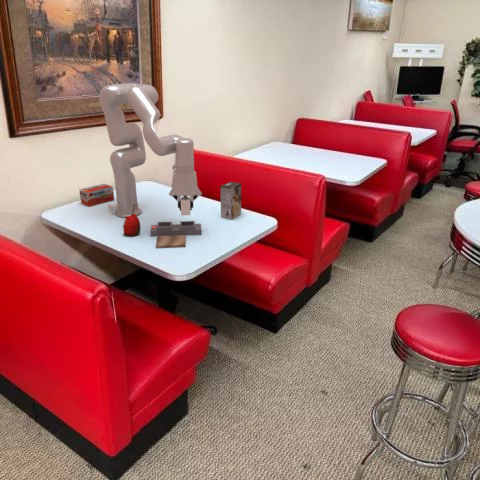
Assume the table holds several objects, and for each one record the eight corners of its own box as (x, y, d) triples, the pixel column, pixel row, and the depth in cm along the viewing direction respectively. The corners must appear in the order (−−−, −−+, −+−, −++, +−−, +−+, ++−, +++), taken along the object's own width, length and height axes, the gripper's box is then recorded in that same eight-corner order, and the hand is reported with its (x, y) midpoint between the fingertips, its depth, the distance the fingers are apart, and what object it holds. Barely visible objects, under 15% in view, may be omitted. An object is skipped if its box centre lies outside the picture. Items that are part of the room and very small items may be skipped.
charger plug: (181, 215, 187) (180, 197, 183) (181, 211, 190) (180, 194, 187) (190, 215, 187) (190, 197, 184) (190, 211, 191) (190, 194, 187)
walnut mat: (155, 248, 177) (155, 245, 176) (157, 238, 186) (157, 236, 185) (185, 247, 178) (185, 244, 178) (185, 237, 187) (185, 235, 187)
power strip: (150, 236, 187) (150, 228, 186) (151, 230, 194) (151, 221, 192) (201, 234, 190) (201, 226, 188) (201, 228, 196) (200, 220, 194)
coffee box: (230, 212, 216) (230, 181, 209) (241, 214, 213) (242, 183, 206) (220, 217, 209) (220, 185, 202) (231, 220, 205) (231, 188, 199)
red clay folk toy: (133, 229, 194) (129, 197, 188) (144, 232, 191) (142, 200, 185) (120, 235, 188) (117, 202, 182) (132, 238, 185) (129, 205, 179)
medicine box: (106, 197, 235) (104, 182, 232) (114, 200, 230) (113, 186, 227) (80, 203, 225) (78, 189, 221) (89, 207, 220) (87, 192, 216)
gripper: (164, 171, 176) (165, 212, 184) (205, 171, 178) (205, 212, 186) (165, 165, 183) (166, 206, 190) (204, 166, 185) (204, 206, 192)
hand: (185, 208), depth 188 cm, fingers closed on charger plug, 4 cm apart
